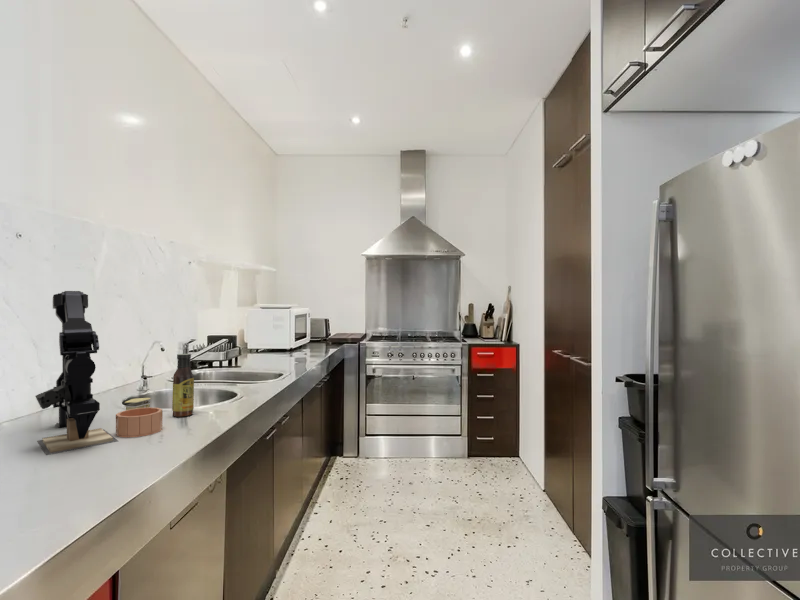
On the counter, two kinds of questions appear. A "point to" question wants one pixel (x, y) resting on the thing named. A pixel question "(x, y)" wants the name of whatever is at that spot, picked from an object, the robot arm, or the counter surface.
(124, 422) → the bowl
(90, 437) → the lid
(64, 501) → the counter surface
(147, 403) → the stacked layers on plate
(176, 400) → the sauce bottle
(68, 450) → the mat
